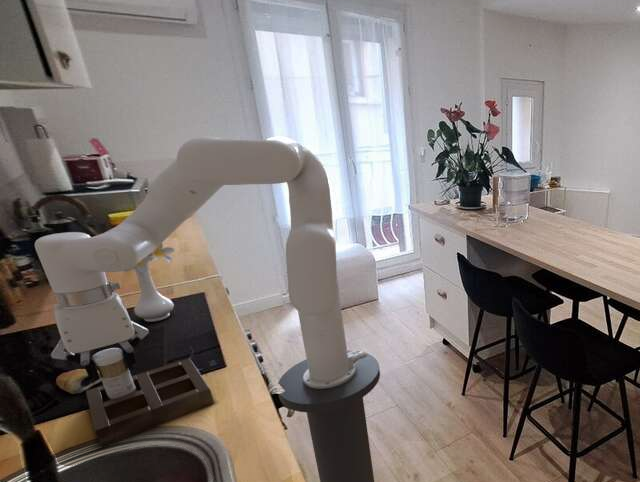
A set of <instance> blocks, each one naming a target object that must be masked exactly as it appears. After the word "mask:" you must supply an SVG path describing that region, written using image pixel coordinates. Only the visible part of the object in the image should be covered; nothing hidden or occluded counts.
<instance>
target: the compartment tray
mask: <svg viewBox="0 0 640 482" xmlns="http://www.w3.org/2000/svg"><path fill="white" fill-rule="evenodd" d="M131 376H132V379H133V382H134V385H135V387H136V392H134V393H131V394H128V395H125V396H122V397H119V398H116V399H113V400H110V399H109V397H108V395H107V393H106V390H105V388H104V385H99V386H97V387H93V388H89V389H87V390H85V393H86V397H87V402H88V407H89V411H90V415H91V420H92V423H93V428H94V432H95V434H96V436H97V440H98V441H99V444H100V447H103V448H104V447H105V446H108V445H111V444H113V443H116V442H118V441H121V440H124V439H126V438H128V437H131V436H134V435H136V434H139V433H142V432H144V431H146V430H149V429H152V428H154V427H157V426H160V425H161V424H165V423H167V422H170V421H173V420H174V419H177V418H180V417H182V416H184V415H187V414H190V413H192V412H195V411H197V410H200V409H203V408H205V407H207V406H210V405H213V404H215V401H214V399H213V394H212V391H211V387H210V386H209V385H208V383H207V382H206V381H205V379H204V377H203V376H202V374H201V373H200V371H199V370H198V368H197V367H196V366H195V364H194V362H193V361H192V359H191V358H190V357H189V358H186V359H182V360H179V361H176V362H172V363H170V364H166V365H163V366H161V367H156V368H153V369H151V370H147V371H144V372H141V373H138V374H135V375H131Z"/></svg>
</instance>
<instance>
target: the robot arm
mask: <svg viewBox="0 0 640 482" xmlns="http://www.w3.org/2000/svg"><path fill="white" fill-rule="evenodd" d="M285 183H286V184H287V189H288V203H289V213H290V214H289V215H290V229H289V232H288V236H287V238H286V242H285V262H286V275H287V289H288V298H289V301H290V303H291V305H292V307H293V308H294V309H295V310H296V311H297V315H298V319H299V325H300V330H301V331H300V332H301V336H302V342H303V347H304V353H305V357H306V358H305V359H307V364H308V370H307V371H306V372H305V373H304V375H303V380H304V383H305V385H307V386H308V387H311V388H315V389H326V388H332V387H335V386H338V385H341V384H343V383H345V382H347V381H348V380H350V379H351V378H352V377H353V376H354V375H355V373H356V365H355V363H356V361H357V360H359V359H362V358H365V357H366V356H367V355H366V353H367V352H366V351H365V350H361V351H360V352H359V353H357V351H358V350H356V349H354V350H351V352H349V353H347V350H348V348H347V341H346V333H345V326H344V319H343V312H342V311H343V310H342V304H341V297H340V289H339V279H338V275H337V273H338V272H337V271H338V270H337V246H336V243H337V242H336V236H335V235H336V234H335V232H334V221H333V206H332V192H331V191H332V190H331V185H330V179H329V176H328V173H327V170H326V169H325V167H324V165H323V163H322V162H321V161H320V159H319V158H318V156H316V155H315V154H314V153H313V152H312V151H311V150H310V149H309V148H308V147H306V146H304V145H303V144H302V143H300V142H298V141H296V140H293V139H292V138H288V137H285V136H274V137H273V136H272V137H269V138H266V139H229V138H228V139H226V138H225V139H224V138H222V137H219V136H215V135H203V136H199V137H195V138H191V139H189V140H187V141H186V142H185V141H184V143H183V144H182V145H181V146H180V147H179V149H178V151H177V155H176V158H175V160H173V161H172V163H170V164H169V165H168V166H167V167H166V168H165V169H164V170H163V171H161V172H160V173H159V174H158V175H157V176H156V177H155V178H154V179H153V180H152V181H151V182H150V183H149V184H148V186H147V187H146V196H145V198H144V200H143V201H142V202H140V204H139V205H138V206H137V207H136V208H135V209H134V210H133V211H132V212H131V213H130V214H129V215H128V216H127V217H125V218H124V220H122V221H121V222H120V223H119V224H117V225H116V226H115V227H113V228H110V229H109V230H107V231H105V232H103V233H100V234H97V235H95V236H90V234H87V233H85V232H80V231H68V232H67V231H66V232H60V233H59V232H58V233H52V234H47V235H44V236H41V237H39V238H38V239H36V240H35V242H34V248H35V252H36V254H37V256H38V259H39V261H40V263H41V264H40V265H41V267H42V269H43V271H44V274H45V276H46V278H47V280H48V283H49V286H50V288H51V290H52V294H53V295H54V298H55V300H56V302H57V303H56V304H54V305H53V314H54V320H55V324H56V327H57V330H58V333H59V335H60V339H59V341H58V343H57V344H56V346H55V347H54V349H53V350H52V352H51V353H50V357H51V358H52V359H54V360H61V361H62V360H63V361H68V362H70V363H71V362H72V363H76V364H80V365H81V366H83V368H84V369H86V372H87V374H88V377H91V376H94V379H95V381H96V380H99V379H100V377H99V374H98V371H97V370H98V369H97V367H96V365H95V364H94V362H93V360H92V357H91V356H90V351H92V350H96V349H100V348H104V347H107V346H108V347H109V346H111V345H114V344H115V345H116V344H119V345H120V346H121V348H122V351H123V354H124V360H125V362H126V365H127V367H128V369H129V371H132V370H134V369H135V368H134V366H133V365H134V364H137V360H136V358H135V355H134V351H135V348H136V347H138V345H139V343H140V342H141V340H143V339H144V338H145V337H146V336H148V335H149V333H150V330H149V329H148V328H146V327H144V326H143V325H140V324H139V323H137V322H134V321H133V320H131V317H130V316H129V312H128V310H127V308H126V306H125V303H124V302H123V300H122V298H121V297H120V295H119V294H118V293H117V292H114V291H117V290H120V289H121V286H120V283H119V282H110V281H108V278H107V276H106V273H107V272H108V273H118V272H120V273H121V272H124V271H125V270H128V269H130V268H132V267H134V266H135V265H136V264H138V263H139V262H140V261H141V260H142V259H144V258H145V257H146V256H148V255H149V254H151V253H152V252H153V251H154V250H155V249H156V248H157V247H158V246H159V245H160V244H161V243H162V244H163V243H164V242H165V241H166V240H167V239H168V238H169V237H170V236H171V235H172V234H173V233H174V232H175V231H176V230H177V229H178V228H180V226H182V224H184V222H185V221H187V220H188V219H190V218H192V217H193V216H194V214H195V213H197V212H198V211H199V210H200V209H201V208H202V207H203V206H204V205H205V204H206V203H207V202H208V201H209V200H210V199H212V197H213V196H214V195H215V194H216V193H217V192H218V191H220V189H221V188H222V187H224V186H243V185H244V186H245V185H246V186H247V185H278V184H285ZM65 350H66V351H65Z"/></svg>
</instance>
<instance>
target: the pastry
mask: <svg viewBox="0 0 640 482" xmlns="http://www.w3.org/2000/svg"><path fill="white" fill-rule="evenodd" d="M97 371H98V369H97ZM98 374H99V371H98ZM99 377H100V374H99ZM55 382H56V385H57V386H58V388H59V389H61V390H62V391H65V392H67V393H69V394H71V395H75V394H81V393H83V392H86V391H87V390H90V389H92V387H94V386H96V385H98V384H100V383H102V380H101V377H100V379H99V380H96V381H95V379H94V376H91V377H88V374H87V372H86V369H85V368H77V369H73V370H70V371H67V372H62V373H61V374H59V375H58V376H57V377H56V379H55Z"/></svg>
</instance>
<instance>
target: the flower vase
mask: <svg viewBox="0 0 640 482" xmlns="http://www.w3.org/2000/svg"><path fill="white" fill-rule="evenodd" d="M174 252H175V249H174V248H173V247H163V242H162V243H161V244H160V245H159V246H158V247H157V248H156V249H155V250H154V251H153V252H152V253H151V254H149V255H148V256H146V257H145V258H144V259H142V260H141V261H140V262H139V263H138V264H136V265H135V266H134V267H132V268H130V269H128V270H125V271H123V272H124V273H128V272H131V271H132V270H134V272H135V274H136V277H137V280H138V283H139V287H140V297H139V300H138V301H137V303H136V304H135V306H134V308H133V314H134V315H135V316H137V317H138V318H140V319H143V321H145V322H147V323H149V322H150V323H153V322H154V323H155V322H159V321H162V320H165V319H167V318H169V317H170V315H171V312H173V310H174V308H175V304H174V302H173V301H172V300H171V299H170V298H168V297H167V296H164V295H162V294H161V292H159V291H158V290H157V288H156V286H155V283H154V281H153V278H152V275H151V271H150V262H152V261H156V262H158V261H159V260H160V259H161V260H164V261H166V262H168V263H172V262H173V258H172V257H170V256H169V255H170V254H172V253H174ZM106 273H107V274H108V273H109V272H106Z"/></svg>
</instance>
